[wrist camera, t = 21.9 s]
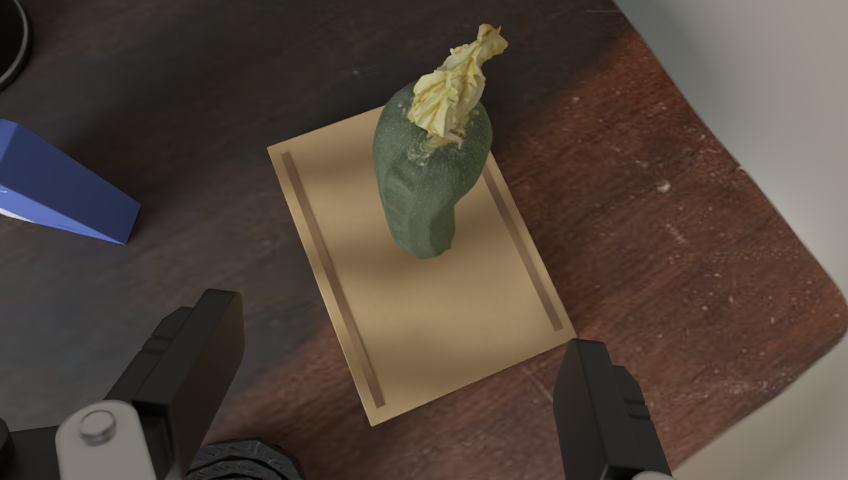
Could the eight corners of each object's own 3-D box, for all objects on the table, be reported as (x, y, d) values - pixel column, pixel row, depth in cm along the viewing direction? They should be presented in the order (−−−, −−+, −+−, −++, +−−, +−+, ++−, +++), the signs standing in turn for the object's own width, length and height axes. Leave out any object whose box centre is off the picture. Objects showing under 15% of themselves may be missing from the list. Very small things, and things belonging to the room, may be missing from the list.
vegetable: (385, 272, 33) (361, 122, 14) (381, 202, 34) (353, -28, 15) (459, 266, 33) (538, 112, 14) (452, 198, 34) (518, -35, 15)
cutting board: (271, 156, 36) (266, 146, 35) (455, 90, 38) (457, 78, 36) (372, 424, 32) (371, 427, 31) (570, 338, 34) (578, 337, 33)
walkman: (142, 204, 35) (13, 117, 23) (126, 245, 34) (-15, 178, 23) (23, 174, 35) (-164, 74, 24) (4, 215, 35) (-197, 133, 23)
